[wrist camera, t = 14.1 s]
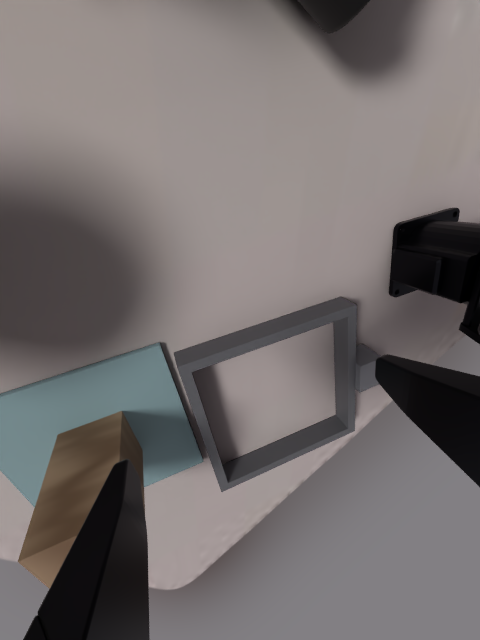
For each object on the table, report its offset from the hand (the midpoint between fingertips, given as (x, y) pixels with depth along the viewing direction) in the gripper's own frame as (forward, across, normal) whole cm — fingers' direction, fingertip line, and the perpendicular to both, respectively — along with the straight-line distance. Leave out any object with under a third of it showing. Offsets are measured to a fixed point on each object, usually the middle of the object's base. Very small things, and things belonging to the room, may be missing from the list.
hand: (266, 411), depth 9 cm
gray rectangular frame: (+12, -6, +11) cm, 17 cm away
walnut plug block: (+12, +10, +9) cm, 18 cm away
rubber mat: (+12, +10, +9) cm, 18 cm away
